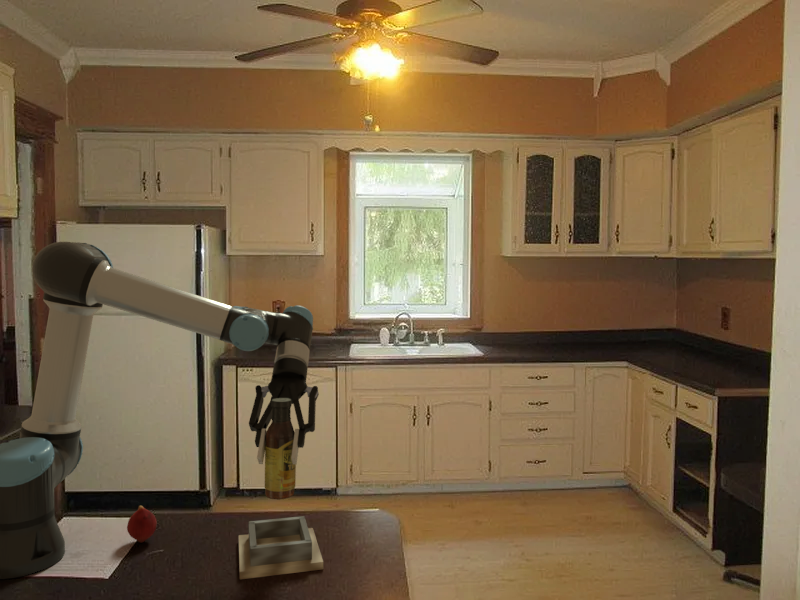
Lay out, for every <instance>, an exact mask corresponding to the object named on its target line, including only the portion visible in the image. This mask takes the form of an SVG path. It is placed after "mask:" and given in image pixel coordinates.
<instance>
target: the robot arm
mask: <svg viewBox="0 0 800 600" xmlns="http://www.w3.org/2000/svg"><path fill="white" fill-rule="evenodd" d="M31 268H32V269H31V270H32V276H33V279H34V281H35V283H36V285H37V286H38V287H39V289H41V290H42V291H43V298H42V299H43V302H44V303H45V304H46V305H47V307H48V308H49V311H48V317H47V321H46V322H47V323H46V329H45V334H44V340H43V346H42V351H41V358H40V365H39V367H38V369H39V370H38V375H37V376H38V377H37V381H36V388H35V391H34V392H35V393H34V398H33V404H32V411H31V416H29V417H28V418H27V419H24V420H23V421H22V422H21V427H20V433H19V438H15V439H11V440H9V441H8V442H1V443H0V580H7V579H15V578H21V577H25V576H29V575H32V573H33V574H36V573H38V572H41V571H43V569H44V570H46V569H47V568H50V567H52V566H53V565H55V564H56V563H58V562H59V561H60V560H61V559H62V558H63V557H64V556H65V553H66V547H65V546H66V543H65V538H64V536H63V533H62V532H61V529H60V526H59V524H58V521H57V519H56V516H55V489H56V487H57V486H58V485H59V484H60V483H62V481H63V480H65V479H66V478H67V477H68V476H69V475H71V474H72V473H73V472H74V470H75V469H76V468H77V467H78V465H79V463H80V461H81V459H82V457H83V456H82V455H83V451H84V446H83V441H82V438H81V437H80V436H81V433H82V423H80V421H79V420H78V419H77V418H76V416H77V412H78V405H79V400H80V393H81V389H82V382H83V376H84V370H85V366H86V364H85V363H86V358H87V355H88V353H87V352H88V347H89V342H90V335H91V331H92V330H91V329H92V325H93V318H94V315H95V313H96V312H98V311H100V310H101V309H102V308H103V305H104V306H107V307H111V308H114V309H116V310H120V311H123V312H128V313H130V314H134V315H137V316H140V317H143V318H147V319H150V320H152V321H157V322H160V323H163V324H166V325H169V326H172V327H176V328H179V329H183V330H187V331H189V332H192V333H196V334H200V335H203V336H206V337H209V338H212V339H216V340H219V341H222V342H224V343H228V344H231V345H233V346H235V347H236V348H237V349H239V350H241V351H245V352H252V351H255V350H258V349H260V348H261V347H262V346H264V344H269V345H275V346H276V351H275V357H274V361H273V362H274V364H273V369H272V374H271V380H270V381H269V383H268V385H266V386H261V385H260V384H259V385H256V386H255V393H256V395H255V398H254V401H253V406H252V410H251V413H250V418H249V421H248V427H249V428H250V431H251V432H255V437H254V443H255V447H256V448H258V450H257V456H256V459H257V462H258V464H259V465H264V461H265V445H266V433H267V429H268V428H269V426H270V424H271V422H272V404H271V402H272V399H275V398H289V399H291V404H292V405H293V407H294V411H295V415H296V420H297V424H298V428H294V432H295V433H294V441H293V449H292V456H291V459H292V463H293V464H296V465H297V463H298V457H299V455H298V454H299V449H300V448H302V449H303V448H304V447H305V442H306V441H305V440H306V434H307V433H310V432H311V433H313V432H315V430H316V407H317V405H316V402H317V399H318V397H319V387H318V386H316V385H314V386H312V387H311V386H309V385H307V377H308V376H307V375H308V371H309V370H308V367H309V361H310V352H311V351H310V350H311V345H312V335H313V330H314V325H313V324H314V316H313V314H312V312H311V310H309V309H308V308H306V306H305V307H304V306H303V305H294V306H292V305H291V306H287V307H286V308H284V310H283V312H273V311H267V310H263V309H258V308H251V307H248V306H238V305H233V306H231V305H228V304H226V303H222V302H220V301H216V300H213V299H210V298H206V297H204V296H201V295H199V294H198V295H197V294H194V293H192V292H188V291H185V290H182V289H179V288H175V287H173V286H169V285H166V284H163V283H160V282H158V281H155V280H152V279H151V280H150V279H149V278H145V277H142V276H138V275H137V274H132V273H129V272H127V271H124V270H120V269H117V268H114V265H113V262H112V260H111V258H110V257H109V255H108V254H107V253H106V252H105V251H104V250H103V249H101V248H99V247H97V246H95V245H94V244H89V243H86V242H76V241H75V242H73V241H71V242H70V241H56V242H52V243H50V244H48V245H46V246H44V247H43V248H42V249H40V250H39V251H38V253H37V254H36V255H35V257H34V260H33V261H32V267H31ZM268 393H269V394H270V395H271V398H270V401H269V403H268V404H267V407H266V408H265V410H264V411H263V413H262V409H263V404H264V401H265V399H264V398H266V396H267V394H268ZM306 393H307V394H306ZM305 394H306V395H307V397H308V413H307V415H308V416H307V418H308V419H307V422H306V423H305V420H304V416H303V413H302V408H301V405H300V399H301V398H302V397H303V396H304V395H305ZM261 413H262V415H261ZM260 416H261V418H260ZM40 570H41V571H40ZM37 571H38V572H37ZM35 572H36V573H35ZM28 574H29V575H28Z"/></svg>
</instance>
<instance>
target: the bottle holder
mask: <svg viewBox="0 0 800 600" xmlns="http://www.w3.org/2000/svg"><path fill="white" fill-rule="evenodd" d="M238 563H239V564H238V565H239V568H238V570H239V580H245V579H255V578H264V577H270V576H279V575H287V574H294V573H296V574H297V573H304V572H310V571H311V572H312V571H318V570H319V571H320V570H324V559H323V556H322V553H321V550H320V547H319V544H318V541H317V537H316V534H315V531H314V528H313V527H308V523H307V520H306V516H305V515H303V516H301V515H300V516H293V517H282V518H273V519H272V518H271V519H261V520H250V521H248V534H239V535H238Z"/></svg>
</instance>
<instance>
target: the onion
mask: <svg viewBox="0 0 800 600" xmlns="http://www.w3.org/2000/svg"><path fill="white" fill-rule="evenodd" d="M157 524H158V523H157V518H156V516H155V514H154V513H153V512H152V511H150V510H148V509H146V508H145V507H144V506H143V505H138V508H137V510H136V511H135V512H134V513H133V514H132V515H131V516H130V517H129V519H128V521H127V526H126V529H127V530H126V531H127V533H128V534H129V536H130V537H131V538H132V539H134V540H136V541H137V542H138V543H144V542H145V541H146V540H148V539H150V538H151V537H152V536H153V535H154V533H155V531H156V529H157Z"/></svg>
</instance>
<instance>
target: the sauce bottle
mask: <svg viewBox="0 0 800 600" xmlns="http://www.w3.org/2000/svg"><path fill="white" fill-rule="evenodd" d="M271 404H272V419H271V422H270V424H269V425H268V427H267V429H266V431H267V433H266V445H265V454H264V489H265V493H264V495H265V496H266V497H267V498H269V500H270V499H271V500H279V501H280V500H286V499H289V498H291V497H293V496H294V495H295V488H296V476H297V475H296V473H297V472H296V471H297V464H293V463H292V459H291V456H292V449H293V441H294V433H295V428H294V426H293V424H292V420H291V419H292V418H291V412H292V411H291V407H292V405H293V404H291V399H289V398H275V399H272V402H271Z"/></svg>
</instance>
